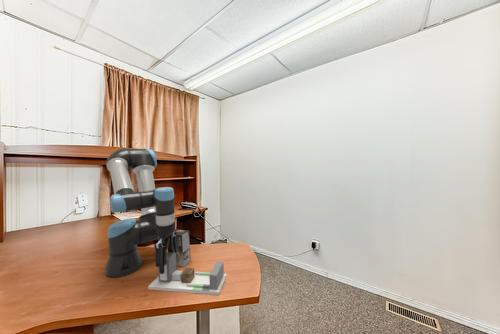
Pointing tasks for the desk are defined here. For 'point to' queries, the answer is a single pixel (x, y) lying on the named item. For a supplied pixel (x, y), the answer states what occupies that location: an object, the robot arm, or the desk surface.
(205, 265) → the desk surface
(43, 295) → the desk surface
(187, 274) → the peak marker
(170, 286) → the board
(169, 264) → the grey block
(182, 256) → the coffee box
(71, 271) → the desk surface
